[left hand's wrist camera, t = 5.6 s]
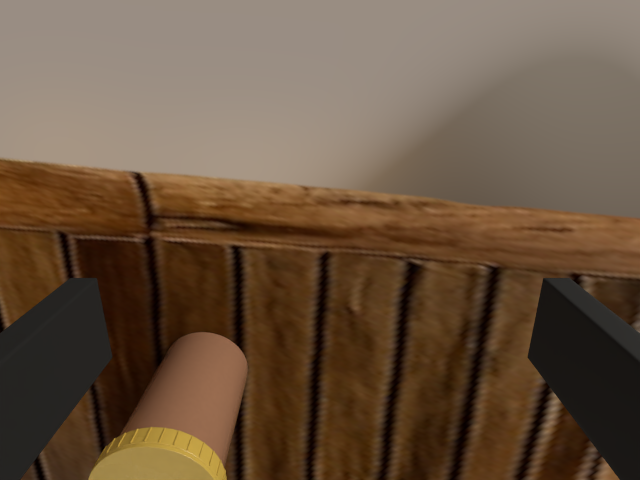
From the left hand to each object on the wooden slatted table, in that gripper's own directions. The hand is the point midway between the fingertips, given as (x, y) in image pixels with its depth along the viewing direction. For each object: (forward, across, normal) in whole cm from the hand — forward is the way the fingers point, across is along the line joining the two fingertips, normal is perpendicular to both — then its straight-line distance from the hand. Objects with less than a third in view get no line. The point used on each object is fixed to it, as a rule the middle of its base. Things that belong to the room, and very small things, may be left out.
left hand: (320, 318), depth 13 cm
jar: (+28, +12, +23) cm, 38 cm away
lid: (+13, +12, +23) cm, 29 cm away
